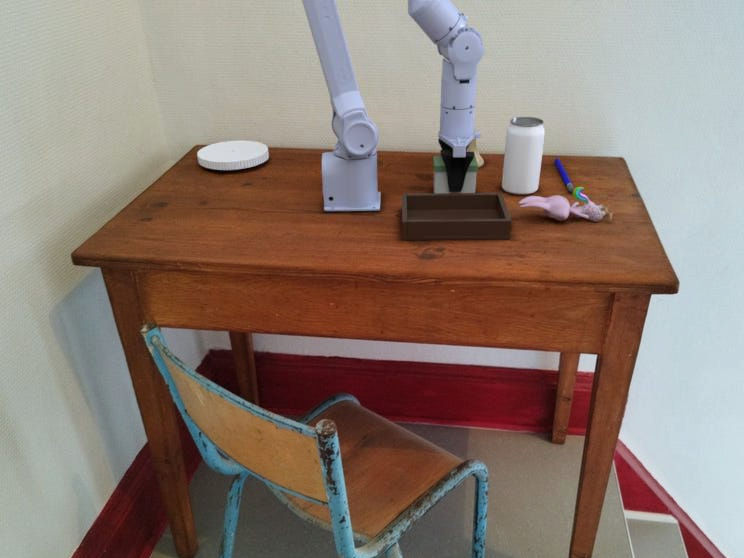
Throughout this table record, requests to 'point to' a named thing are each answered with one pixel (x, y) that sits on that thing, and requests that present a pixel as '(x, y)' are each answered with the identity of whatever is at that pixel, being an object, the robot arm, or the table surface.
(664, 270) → the table surface
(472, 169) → the container
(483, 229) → the tray
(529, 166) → the can
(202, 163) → the plastic lid
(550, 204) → the rabbit figure
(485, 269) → the table surface
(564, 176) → the pencil
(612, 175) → the table surface
